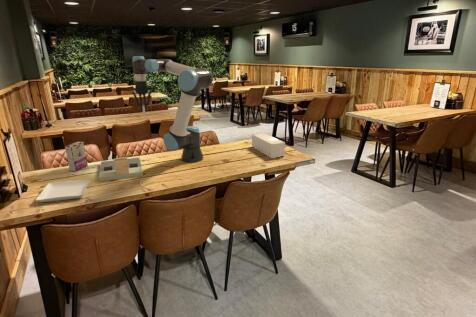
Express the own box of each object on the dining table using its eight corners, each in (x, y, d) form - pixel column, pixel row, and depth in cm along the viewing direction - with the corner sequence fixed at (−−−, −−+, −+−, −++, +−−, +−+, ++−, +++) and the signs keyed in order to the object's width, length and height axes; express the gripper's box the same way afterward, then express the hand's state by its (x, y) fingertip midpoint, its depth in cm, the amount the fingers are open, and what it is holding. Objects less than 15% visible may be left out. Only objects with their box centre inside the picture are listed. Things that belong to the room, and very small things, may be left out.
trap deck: (101, 165, 197) (101, 161, 196) (139, 160, 205) (139, 157, 204) (99, 181, 170) (98, 177, 169) (143, 175, 178) (142, 171, 178)
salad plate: (84, 200, 148) (83, 194, 147) (35, 206, 143) (34, 199, 142) (91, 184, 168) (90, 178, 166) (49, 188, 162) (48, 183, 161)
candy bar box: (81, 165, 197) (77, 141, 192) (88, 165, 196) (84, 141, 191) (69, 171, 187) (64, 146, 182) (76, 171, 186) (71, 146, 181)
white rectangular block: (251, 147, 236) (251, 134, 233) (263, 145, 240) (264, 132, 237) (271, 159, 208) (271, 144, 205) (284, 157, 212) (285, 142, 209)
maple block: (115, 171, 179) (113, 158, 177) (127, 169, 182) (126, 156, 180) (116, 174, 173) (114, 161, 171) (129, 173, 176) (127, 160, 173)
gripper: (150, 80, 204) (153, 114, 211) (130, 80, 199) (134, 115, 207) (151, 80, 197) (154, 116, 205) (130, 81, 193) (134, 117, 200)
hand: (144, 115), depth 206 cm, fingers closed
